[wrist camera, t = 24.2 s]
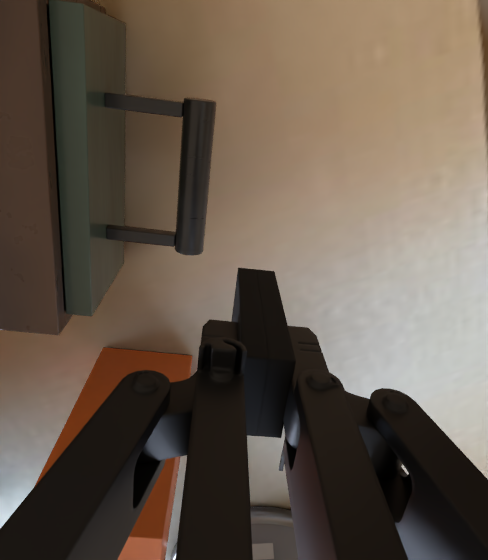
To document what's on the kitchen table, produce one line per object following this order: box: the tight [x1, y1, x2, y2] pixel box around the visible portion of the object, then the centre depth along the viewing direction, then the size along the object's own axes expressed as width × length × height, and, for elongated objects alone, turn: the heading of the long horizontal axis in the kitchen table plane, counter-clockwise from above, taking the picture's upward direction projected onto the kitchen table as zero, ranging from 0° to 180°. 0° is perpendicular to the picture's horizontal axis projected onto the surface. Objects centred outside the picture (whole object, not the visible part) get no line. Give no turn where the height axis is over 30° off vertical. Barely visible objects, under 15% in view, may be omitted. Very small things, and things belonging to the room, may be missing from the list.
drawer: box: [48, 0, 216, 316], centre depth 20 cm, size 19×12×6 cm, turn 83°
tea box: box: [35, 347, 192, 560], centre depth 25 cm, size 6×4×13 cm
